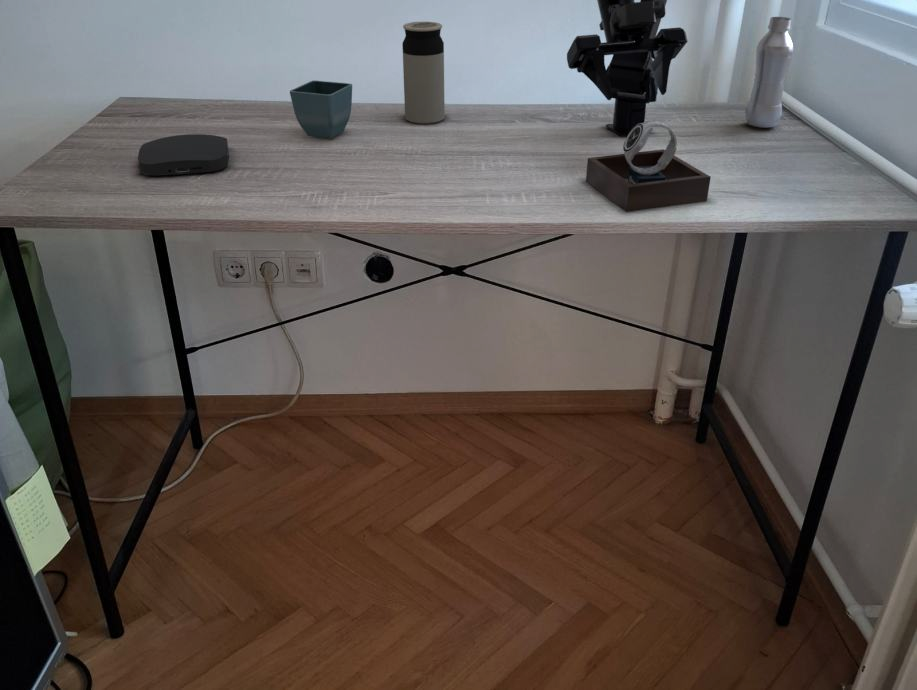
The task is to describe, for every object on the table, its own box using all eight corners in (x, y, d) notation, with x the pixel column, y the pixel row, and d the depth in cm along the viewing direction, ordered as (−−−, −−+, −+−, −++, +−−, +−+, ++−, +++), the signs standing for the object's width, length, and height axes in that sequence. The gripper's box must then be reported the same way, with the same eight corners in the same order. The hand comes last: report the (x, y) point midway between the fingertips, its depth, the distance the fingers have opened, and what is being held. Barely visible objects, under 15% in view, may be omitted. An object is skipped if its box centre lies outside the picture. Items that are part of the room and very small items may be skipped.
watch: (615, 185, 135) (622, 118, 129) (663, 184, 135) (672, 116, 130) (624, 198, 130) (632, 128, 124) (674, 196, 131) (684, 127, 125)
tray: (585, 181, 136) (587, 157, 134) (660, 172, 140) (663, 149, 138) (626, 212, 125) (629, 186, 123) (706, 201, 129) (710, 176, 127)
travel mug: (452, 117, 168) (451, 23, 159) (430, 127, 163) (428, 30, 153) (419, 111, 172) (417, 19, 163) (397, 120, 166) (393, 26, 157)
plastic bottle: (780, 132, 159) (803, 22, 149) (744, 130, 160) (763, 21, 150) (776, 122, 165) (797, 15, 154) (741, 120, 166) (760, 14, 155)
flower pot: (293, 138, 156) (287, 90, 152) (317, 125, 163) (312, 79, 159) (334, 144, 154) (330, 95, 149) (356, 130, 161) (353, 83, 156)
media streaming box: (147, 151, 150) (143, 135, 148) (230, 146, 152) (227, 130, 151) (137, 179, 138) (133, 161, 136) (228, 173, 140) (225, 155, 139)
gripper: (577, -19, 126) (597, 76, 123) (690, -27, 129) (713, 65, 127) (557, 23, 137) (576, 110, 134) (663, 14, 140) (683, 100, 137)
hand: (637, 96), depth 133 cm, fingers open, 9 cm apart
